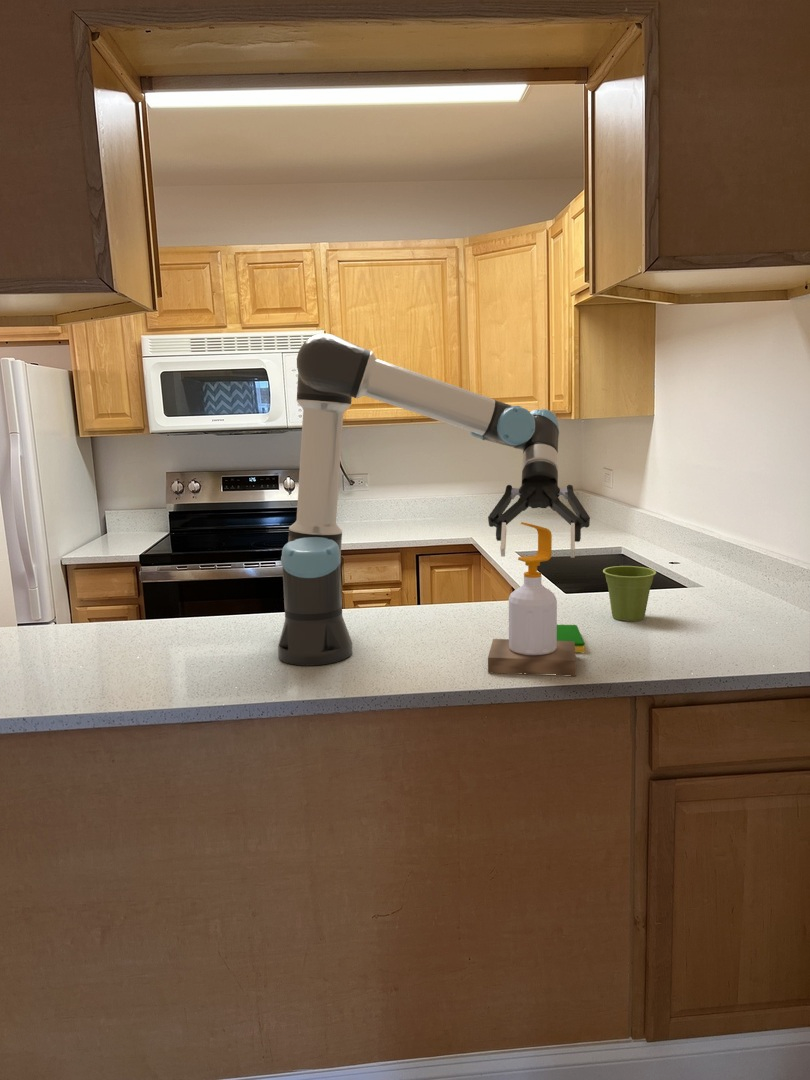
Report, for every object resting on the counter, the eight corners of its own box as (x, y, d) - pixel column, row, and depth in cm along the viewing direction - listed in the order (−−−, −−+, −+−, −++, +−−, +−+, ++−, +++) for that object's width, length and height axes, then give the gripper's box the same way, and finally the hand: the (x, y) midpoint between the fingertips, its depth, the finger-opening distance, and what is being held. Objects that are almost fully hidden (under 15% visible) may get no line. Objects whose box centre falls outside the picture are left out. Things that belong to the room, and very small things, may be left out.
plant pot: (591, 617, 175) (592, 570, 174) (622, 609, 183) (623, 563, 181) (634, 628, 166) (635, 578, 164) (665, 618, 173) (666, 570, 171)
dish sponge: (548, 654, 151) (548, 643, 150) (543, 634, 164) (543, 624, 164) (584, 654, 150) (584, 643, 150) (576, 635, 163) (576, 624, 163)
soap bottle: (499, 646, 146) (499, 521, 142) (539, 639, 149) (540, 517, 145) (524, 659, 137) (524, 527, 134) (566, 652, 141) (567, 523, 137)
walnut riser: (488, 672, 139) (487, 657, 139) (493, 653, 151) (493, 638, 151) (575, 676, 136) (575, 660, 136) (574, 655, 148) (574, 641, 147)
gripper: (599, 481, 159) (601, 564, 147) (482, 482, 164) (475, 562, 152) (601, 458, 153) (603, 542, 141) (480, 459, 158) (472, 541, 146)
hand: (537, 553), depth 147 cm, fingers open, 13 cm apart
